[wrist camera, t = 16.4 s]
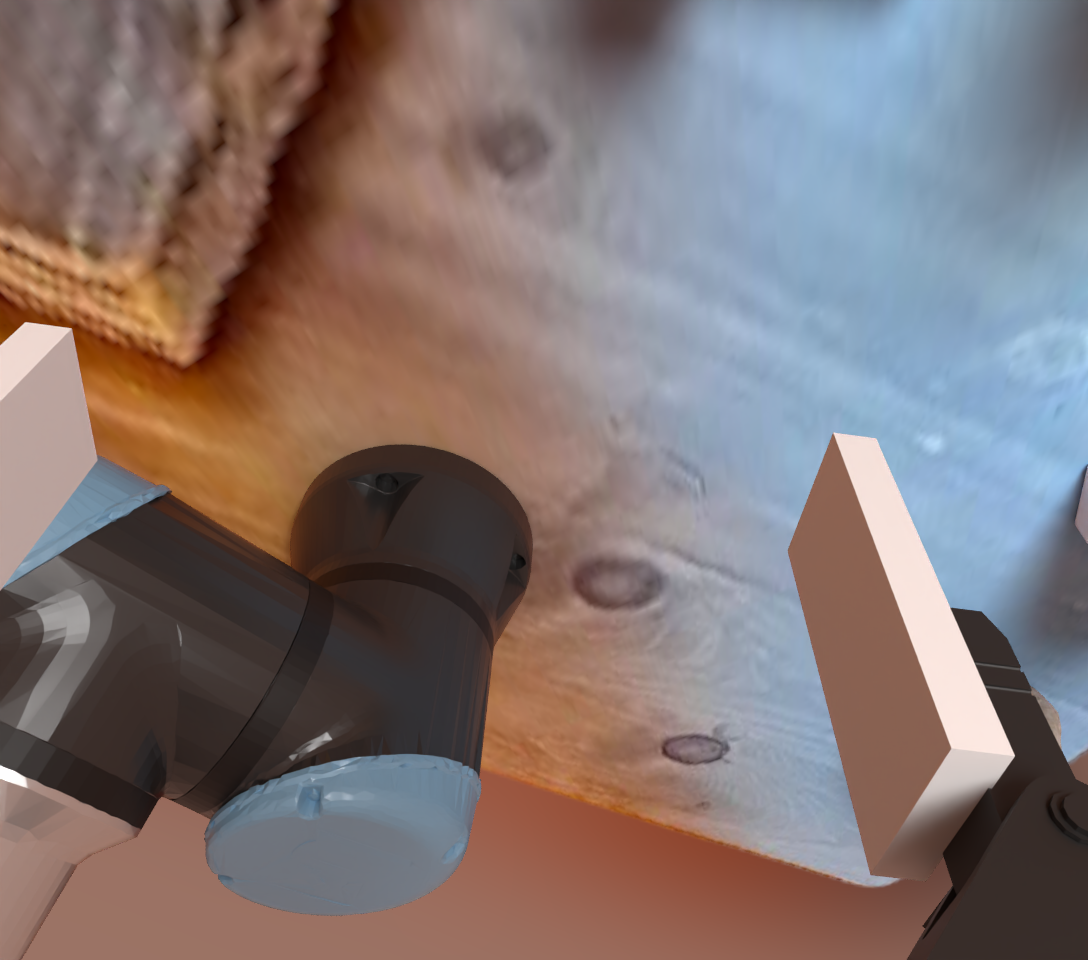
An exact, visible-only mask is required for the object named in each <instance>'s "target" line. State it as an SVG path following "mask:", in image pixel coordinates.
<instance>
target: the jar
mask: <svg viewBox="0 0 1088 960" xmlns="http://www.w3.org/2000/svg"><path fill="white" fill-rule="evenodd" d="M1075 525H1076V527H1077V528H1078V530H1079V531H1080V533H1081V535H1082V536H1083V538H1084V539H1085V541H1086V542H1087V544H1088V467H1087V471H1086V475H1085V480H1084V484H1083V489H1082V493H1081V497H1080V502H1079V506H1078V511H1077V515H1076V519H1075Z"/></svg>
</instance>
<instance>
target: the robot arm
mask: <svg viewBox="0 0 1088 960" xmlns="http://www.w3.org/2000/svg"><path fill="white" fill-rule="evenodd" d="M171 492H172V491H171V490H170V489H169V488H168V487H166V486H164V485H157V486H156V485H154V484H152V483H150V482H149V481H147V480H145V479H143V478H141V477H139V476H137V475H136V474H134V473H132V472H130V471H128V470H126V469H124V468H122V467H121V466H119V465H117V464H115V463H113V462H111V461H109V460H108V459H106V458H104V457H102V456H99V455H97V454H96V450H95V445H94V440H93V435H92V430H91V424H90V419H89V414H88V409H87V404H86V399H85V394H84V389H83V384H82V379H81V374H80V368H79V363H78V358H77V353H76V348H75V343H74V338H73V333H72V329H71V328H64V327H57V326H49V325H42V324H35V323H27V322H25V323H24V324H23V325H22V326H21V327H20V328H19V329H18V330H17V331H16V332H14V333H13V334H12V335H11V336H10V337H9V338H8V339H7V340H6V341H5V342H4V343H3V344H2V345H0V960H21V959H22V958H23V956H24V954H25V953H26V951H27V949H28V948H29V946H30V944H31V943H32V941H33V939H34V938H35V936H36V934H37V932H38V931H39V929H40V928H41V926H42V924H43V922H44V921H45V919H46V917H47V916H48V914H49V912H50V911H51V909H52V907H53V906H54V904H55V902H56V901H57V899H58V897H59V896H60V894H61V892H62V891H63V889H64V887H65V886H66V884H67V882H68V881H69V879H70V877H71V876H72V874H73V872H74V870H75V869H76V867H77V865H78V864H80V863H81V862H83V861H84V860H85V859H87V858H88V857H90V856H91V855H93V854H95V853H97V852H100V851H102V850H105V849H108V848H110V847H113V846H115V845H118V844H120V843H123V842H125V841H128V840H131V839H133V838H135V837H137V836H138V834H139V832H140V831H141V829H142V827H143V825H144V824H145V822H146V820H147V818H148V817H149V815H150V814H151V812H152V810H153V808H154V806H155V805H156V803H157V801H158V800H159V799H160V798H161V797H165V798H167V799H169V800H172V801H174V802H176V803H178V804H180V805H183V806H185V807H187V808H189V809H191V810H193V811H195V812H197V813H199V814H201V815H204V816H205V817H207V818H209V819H211V820H210V822H209V825H208V827H207V829H206V831H205V838H204V840H205V842H206V859H207V863H208V866H209V867H210V869H211V871H212V872H213V873H214V874H218V879H219V880H220V881H221V883H222V884H223V885H224V886H225V887H226V888H228V889H229V890H231V891H232V892H234V893H236V894H237V895H239V896H241V897H243V898H245V899H248V900H250V901H252V902H255V903H258V904H260V905H264V906H267V907H270V908H274V909H279V910H283V911H288V912H293V913H300V914H311V915H327V916H329V915H330V916H340V915H341V916H343V915H353V914H364V913H371V912H378V911H383V910H387V909H391V908H395V907H398V906H401V905H404V904H407V903H410V902H412V901H414V900H417V899H419V898H421V897H423V896H425V895H427V894H428V893H430V892H432V891H433V890H435V889H436V888H437V887H439V886H440V885H441V884H443V883H444V882H445V881H446V880H447V879H448V878H449V877H450V876H451V875H452V874H453V873H454V871H455V870H456V869H457V867H458V866H459V864H460V862H461V861H462V859H463V857H464V854H465V852H466V849H467V845H468V841H469V836H470V831H471V827H472V822H473V817H474V813H475V808H476V803H477V802H478V800H479V797H480V794H481V783H480V781H481V779H479V775H480V766H481V757H482V748H483V739H484V730H485V721H486V712H487V703H488V694H489V685H490V676H491V666H492V656H493V649H494V646H495V644H496V643H497V641H498V639H499V637H500V636H501V634H502V632H503V631H504V629H505V627H506V626H507V624H508V622H509V621H510V619H511V617H512V615H513V614H514V612H515V610H516V609H517V607H518V605H519V604H520V602H521V600H522V598H523V596H524V594H525V591H526V588H527V585H528V582H529V578H530V572H531V562H532V549H533V542H532V533H531V528H530V525H529V522H528V519H527V516H526V514H525V512H524V510H523V508H522V506H521V505H520V503H519V502H518V500H517V499H516V497H515V496H514V495H513V494H512V492H511V491H510V490H509V489H508V488H507V487H506V486H505V485H504V484H503V483H502V482H501V481H500V480H499V479H498V478H496V477H495V476H494V475H493V474H491V473H490V472H488V471H487V470H486V469H484V468H482V467H481V466H479V465H477V464H475V463H474V462H472V461H470V460H468V459H465V458H463V457H461V456H458V455H456V454H453V453H450V452H447V451H443V450H439V449H435V448H430V447H425V446H417V445H386V446H379V447H373V448H368V449H365V450H361V451H358V452H355V453H353V454H350V455H348V456H346V457H344V458H342V459H340V460H338V461H336V462H335V463H333V464H332V465H330V466H329V467H328V468H326V469H325V470H324V471H323V472H322V473H321V474H320V475H319V476H318V477H317V478H316V479H315V480H314V481H313V483H312V484H311V485H310V487H309V488H308V490H307V492H306V494H305V496H304V498H303V500H302V503H301V505H300V508H299V510H298V513H297V515H296V518H295V521H294V524H293V528H292V533H291V541H290V550H291V563H292V568H291V567H290V566H288V565H286V564H285V563H283V562H281V561H280V560H278V559H276V558H275V557H273V556H272V555H270V554H268V553H267V552H265V551H263V550H262V549H260V548H258V547H257V546H255V545H253V544H252V543H250V542H248V541H247V540H245V539H243V538H242V537H240V536H238V535H237V534H235V533H234V532H232V531H230V530H229V529H227V528H225V527H224V526H222V525H220V524H219V523H217V522H215V521H214V520H212V519H210V518H209V517H207V516H205V515H204V514H202V513H200V512H199V511H197V510H196V509H194V508H192V507H191V506H189V505H187V504H186V503H184V502H182V501H181V500H179V499H177V498H176V497H174V496H173V495H171ZM788 554H789V558H790V562H791V566H792V569H793V573H794V577H795V581H796V585H797V589H798V593H799V597H800V601H801V605H802V609H803V612H804V616H805V620H806V624H807V628H808V632H809V636H810V640H811V644H812V648H813V652H814V656H815V659H816V663H817V667H818V671H819V675H820V679H821V683H822V687H823V691H824V695H825V699H826V702H827V706H828V710H829V714H830V718H831V722H832V726H833V730H834V734H835V738H836V742H837V745H838V749H839V753H840V757H841V761H842V765H843V769H844V773H845V777H846V781H847V785H848V788H849V792H850V796H851V800H852V804H853V808H854V812H855V816H856V820H857V824H858V828H859V832H860V835H861V839H862V843H863V847H864V851H865V855H866V859H867V863H868V867H869V871H870V875H875V876H884V877H893V878H901V879H910V880H919V881H927V879H928V878H929V876H930V875H931V874H932V872H933V871H934V869H935V868H936V866H937V865H938V864H939V862H940V861H941V859H942V858H943V857H944V859H945V862H946V865H947V868H948V871H949V874H950V877H951V880H952V883H953V886H952V887H951V889H950V890H949V891H948V893H947V894H946V895H945V897H944V898H943V899H942V901H941V902H940V903H939V905H938V906H937V907H936V909H935V910H934V911H933V913H932V914H931V915H930V917H929V918H928V920H927V921H926V922H925V923H924V925H923V927H924V928H925V930H924V932H923V933H922V935H921V937H920V938H919V940H918V942H917V943H916V945H915V947H914V948H913V950H912V952H911V953H910V955H909V957H908V959H907V960H1088V785H1086V784H1084V783H1082V782H1080V781H1078V780H1076V779H1075V777H1074V775H1073V773H1072V771H1071V769H1070V766H1069V764H1068V762H1067V760H1066V758H1065V756H1064V754H1063V752H1062V750H1061V748H1060V746H1059V744H1058V742H1057V740H1056V738H1055V736H1054V734H1053V732H1052V730H1051V728H1050V726H1049V724H1048V721H1047V719H1046V717H1045V715H1044V713H1043V711H1042V709H1041V707H1040V705H1039V703H1038V701H1037V699H1036V697H1035V696H1034V695H1032V694H1031V691H1032V689H1031V687H1030V685H1029V683H1028V681H1027V679H1026V676H1025V674H1024V672H1020V667H1021V666H1020V664H1019V662H1018V660H1017V658H1016V656H1015V654H1014V652H1013V650H1012V648H1011V646H1010V644H1009V642H1008V640H1007V638H1006V637H1005V636H1004V635H1003V634H1002V633H1001V632H1000V631H999V630H998V629H997V627H996V626H995V625H994V624H993V623H992V622H991V621H990V620H989V619H988V618H987V617H986V616H985V615H984V614H983V613H982V612H980V611H973V610H965V609H957V608H950V606H949V604H948V602H947V599H946V597H945V595H944V593H943V590H942V588H941V586H940V583H939V581H938V579H937V577H936V574H935V572H934V570H933V567H932V565H931V563H930V561H929V558H928V556H927V554H926V551H925V549H924V547H923V545H922V542H921V540H920V538H919V535H918V533H917V531H916V529H915V526H914V524H913V522H912V519H911V517H910V515H909V513H908V510H907V508H906V506H905V503H904V501H903V499H902V497H901V494H900V492H899V490H898V487H897V485H896V483H895V481H894V478H893V476H892V474H891V471H890V469H889V467H888V465H887V462H886V460H885V458H884V455H883V453H882V451H881V449H880V446H879V444H878V442H877V439H876V438H868V437H861V436H854V435H846V434H839V433H833V435H832V437H831V440H830V443H829V445H828V448H827V450H826V453H825V456H824V458H823V461H822V463H821V466H820V468H819V471H818V474H817V476H816V479H815V481H814V484H813V487H812V489H811V492H810V494H809V497H808V499H807V502H806V505H805V507H804V510H803V512H802V515H801V518H800V520H799V523H798V525H797V528H796V530H795V533H794V536H793V538H792V541H791V543H790V546H789V548H788Z"/></svg>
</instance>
